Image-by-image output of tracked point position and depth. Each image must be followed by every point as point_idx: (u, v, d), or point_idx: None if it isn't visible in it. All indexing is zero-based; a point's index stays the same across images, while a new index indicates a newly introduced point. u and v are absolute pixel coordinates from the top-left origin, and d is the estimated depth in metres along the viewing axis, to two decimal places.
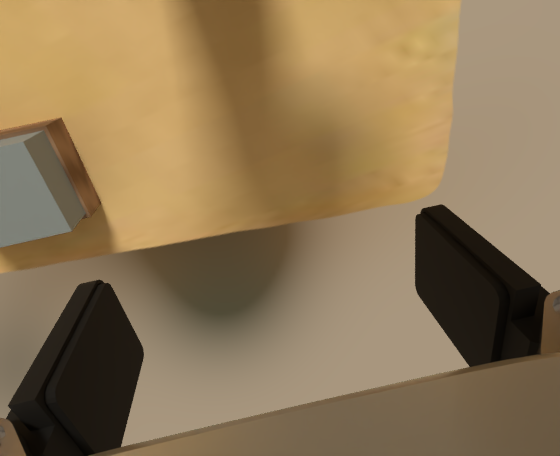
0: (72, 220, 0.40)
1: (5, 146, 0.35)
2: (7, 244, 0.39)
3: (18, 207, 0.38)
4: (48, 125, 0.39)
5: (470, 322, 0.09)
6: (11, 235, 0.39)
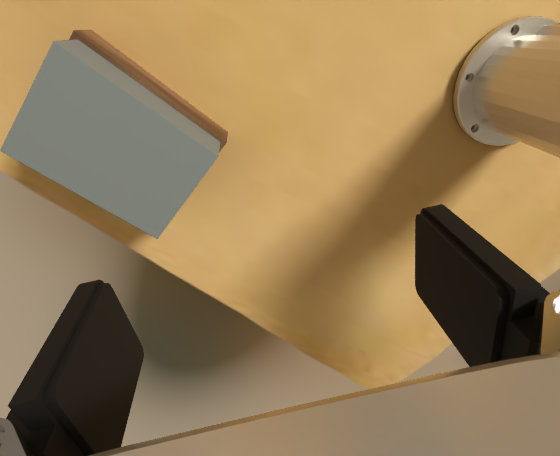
0: None
1: (200, 144, 0.31)
2: (86, 197, 0.32)
3: (141, 186, 0.32)
4: None
5: (470, 321, 0.09)
6: (101, 196, 0.32)
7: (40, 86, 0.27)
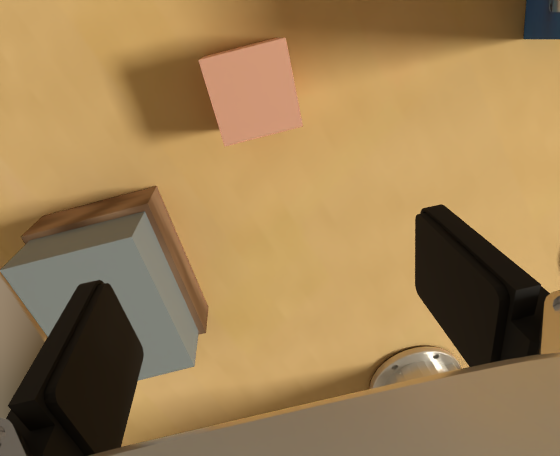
0: None
1: (187, 353, 0.33)
2: None
3: None
4: (205, 329, 0.38)
5: (470, 322, 0.09)
6: None
7: (89, 254, 0.27)
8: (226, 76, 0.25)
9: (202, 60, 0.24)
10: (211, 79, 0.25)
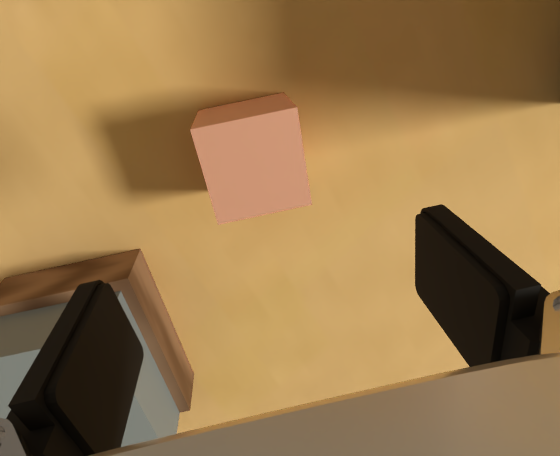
0: None
1: None
2: None
3: None
4: (189, 405, 0.34)
5: (470, 321, 0.09)
6: None
7: None
8: (223, 149, 0.21)
9: (194, 130, 0.20)
10: (205, 151, 0.21)
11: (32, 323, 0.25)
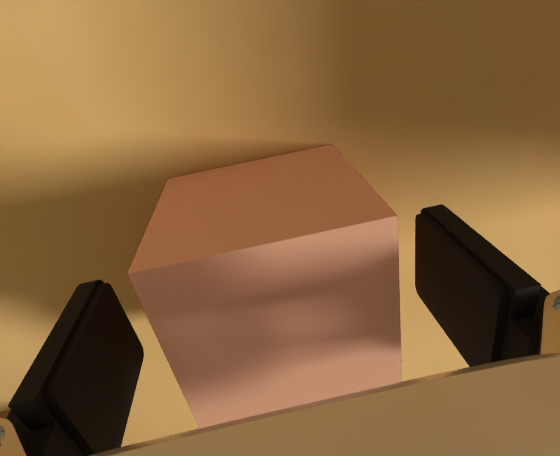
0: None
1: None
2: None
3: None
4: None
5: (470, 321, 0.09)
6: None
7: None
8: (212, 308, 0.09)
9: (140, 274, 0.08)
10: (168, 316, 0.09)
11: None
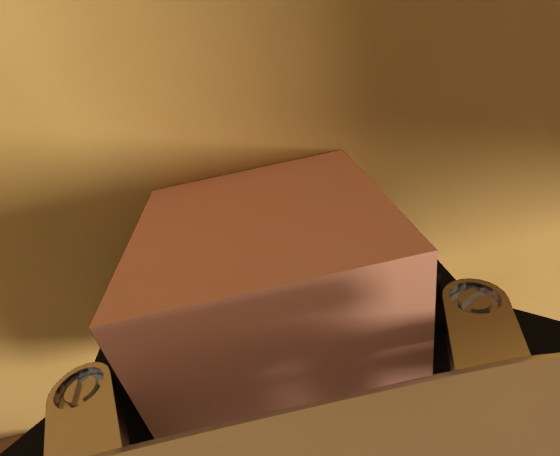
0: None
1: None
2: None
3: None
4: None
5: None
6: None
7: None
8: (200, 365, 0.07)
9: (105, 328, 0.06)
10: (144, 375, 0.07)
11: None
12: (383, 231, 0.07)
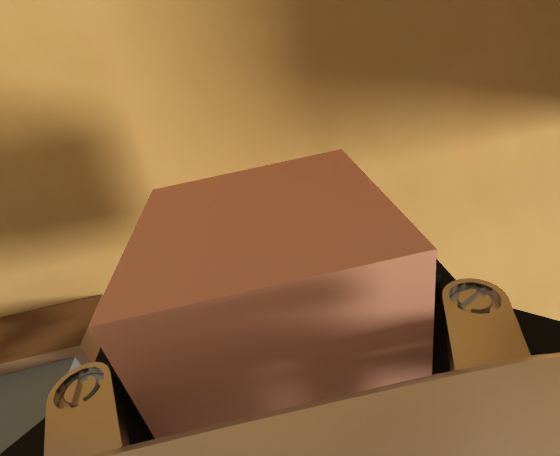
0: None
1: None
2: None
3: None
4: None
5: None
6: None
7: None
8: (201, 364, 0.07)
9: (106, 326, 0.06)
10: (145, 374, 0.07)
11: None
12: (382, 230, 0.07)
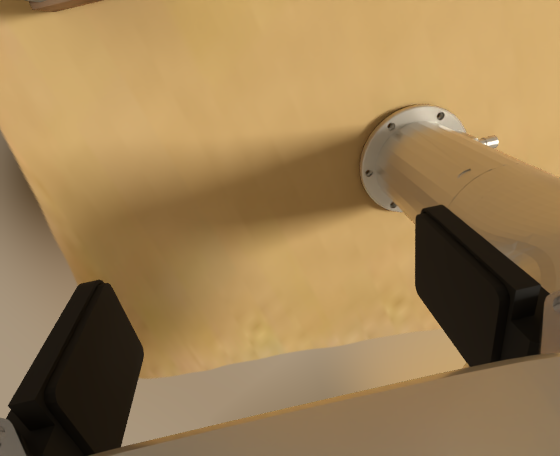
0: None
1: None
2: None
3: None
4: None
5: (470, 321, 0.09)
6: None
7: None
8: None
9: None
10: None
11: None
12: None
